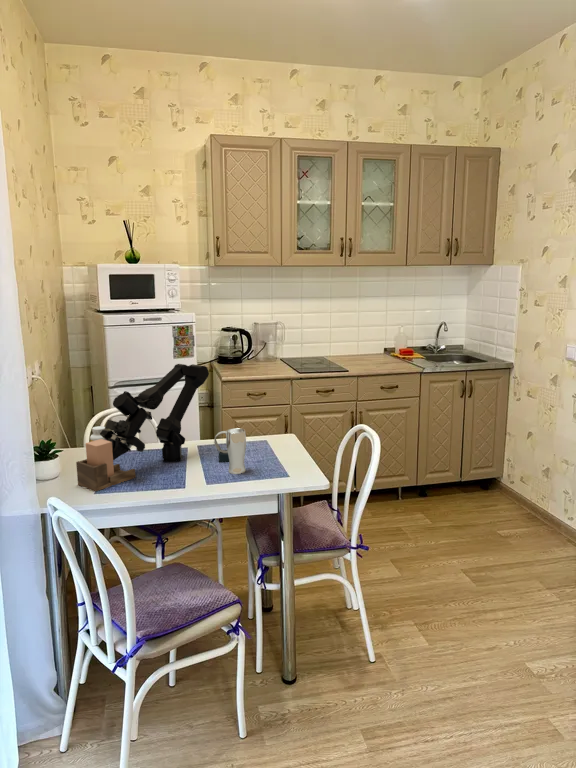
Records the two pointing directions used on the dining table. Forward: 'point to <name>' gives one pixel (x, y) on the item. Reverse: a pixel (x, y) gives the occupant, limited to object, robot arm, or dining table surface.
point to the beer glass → (236, 450)
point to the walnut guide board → (100, 475)
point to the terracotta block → (100, 454)
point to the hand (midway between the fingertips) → (108, 461)
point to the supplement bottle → (97, 433)
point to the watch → (223, 453)
